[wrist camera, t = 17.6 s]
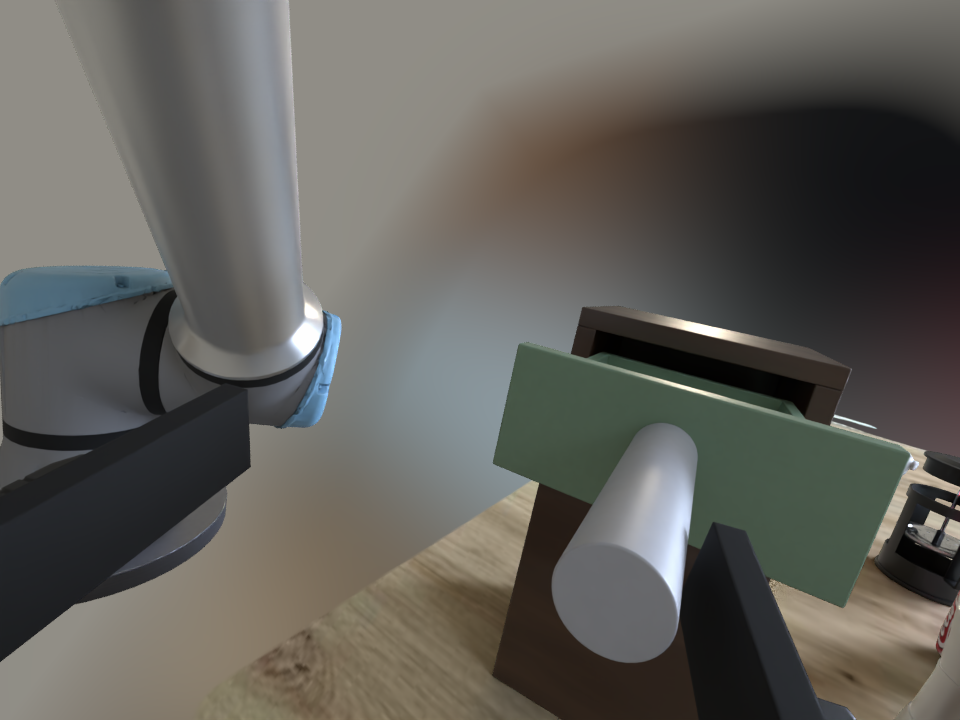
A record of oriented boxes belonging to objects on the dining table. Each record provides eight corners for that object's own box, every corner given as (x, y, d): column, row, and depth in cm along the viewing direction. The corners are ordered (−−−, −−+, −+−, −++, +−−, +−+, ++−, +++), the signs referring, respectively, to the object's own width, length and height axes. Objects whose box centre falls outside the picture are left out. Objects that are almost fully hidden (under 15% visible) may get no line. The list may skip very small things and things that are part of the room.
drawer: (564, 412, 31) (585, 329, 30) (792, 489, 26) (830, 390, 25) (330, 582, 12) (359, 374, 11) (1013, 1022, 7) (1235, 700, 5)
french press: (857, 547, 67) (920, 401, 62) (930, 568, 66) (1001, 419, 60) (908, 600, 56) (990, 427, 51) (999, 627, 54) (1093, 451, 49)
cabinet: (544, 588, 45) (618, 305, 39) (693, 665, 40) (809, 348, 33) (491, 675, 35) (582, 306, 29) (685, 798, 29) (852, 368, 23)
